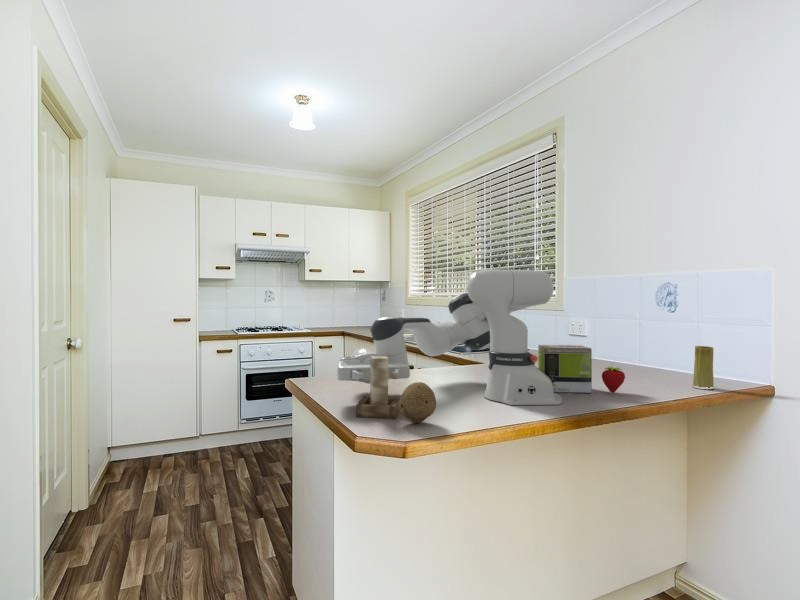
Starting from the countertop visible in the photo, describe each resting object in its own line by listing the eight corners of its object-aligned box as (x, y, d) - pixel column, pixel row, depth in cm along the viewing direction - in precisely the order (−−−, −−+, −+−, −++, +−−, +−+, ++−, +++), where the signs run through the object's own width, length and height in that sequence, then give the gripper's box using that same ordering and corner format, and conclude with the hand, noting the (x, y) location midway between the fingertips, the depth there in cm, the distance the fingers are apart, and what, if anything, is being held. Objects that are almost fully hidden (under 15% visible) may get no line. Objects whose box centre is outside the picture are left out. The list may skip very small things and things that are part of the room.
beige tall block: (384, 408, 121) (385, 356, 121) (387, 412, 117) (388, 358, 117) (370, 408, 120) (370, 356, 120) (372, 412, 116) (373, 358, 116)
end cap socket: (399, 408, 123) (400, 397, 123) (395, 418, 113) (395, 406, 113) (363, 407, 124) (363, 396, 124) (356, 417, 114) (356, 405, 114)
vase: (718, 390, 152) (719, 348, 152) (699, 390, 152) (700, 347, 152) (706, 386, 158) (707, 345, 158) (688, 386, 158) (689, 345, 158)
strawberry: (629, 394, 144) (630, 363, 144) (609, 395, 142) (609, 363, 142) (616, 390, 150) (617, 360, 150) (596, 391, 148) (597, 360, 148)
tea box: (582, 387, 154) (583, 344, 154) (591, 394, 144) (592, 348, 144) (537, 386, 155) (538, 343, 155) (543, 392, 145) (544, 346, 145)
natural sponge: (444, 425, 107) (445, 384, 107) (412, 431, 103) (413, 387, 103) (423, 416, 115) (424, 377, 115) (393, 421, 111) (393, 380, 111)
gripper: (403, 377, 135) (416, 386, 121) (334, 379, 130) (339, 389, 116) (403, 356, 134) (416, 363, 121) (334, 357, 130) (340, 365, 116)
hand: (378, 376), depth 119 cm, fingers open, 8 cm apart
